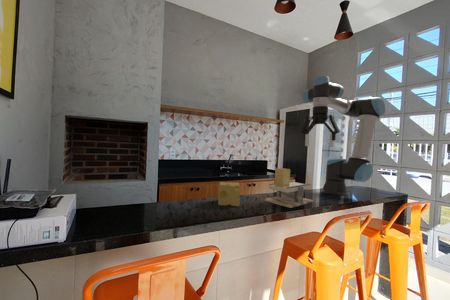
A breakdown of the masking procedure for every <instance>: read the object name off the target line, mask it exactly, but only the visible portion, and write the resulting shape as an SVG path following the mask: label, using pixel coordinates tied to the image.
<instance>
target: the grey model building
mask: <svg viewBox="0 0 450 300" xmlns="http://www.w3.org/2000/svg"><path fill="white" fill-rule="evenodd" d="M268 185H269V186H268V189H269V190H273V191H276V192H277V191H281V192H286V193H289V192H294V191H298V189H299V187H304V192H303V194H305V193H306V190H308V189H311V184H310V183H301V182H296V181H295V182H294V180H290V185H289V187H283V188H282V187H277V186H275V182H274V183H269V184H268Z"/></svg>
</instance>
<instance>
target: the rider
mask: <svg viewBox="0 0 450 300" xmlns="http://www.w3.org/2000/svg"><path fill="white" fill-rule="evenodd" d="M274 172H275V173H274V175H275V176H274V183H275V186H277V187H282V188H283V187H289V185H290V181H291V169H290V168H283V167H279V168H275V171H274Z"/></svg>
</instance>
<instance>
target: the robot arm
mask: <svg viewBox="0 0 450 300" xmlns="http://www.w3.org/2000/svg"><path fill="white" fill-rule="evenodd" d="M344 89H345V88H344V86H342V85H341V84H339V83H333V82H330V77H329V76H327V75H319V76H316V77H314V80H313V86H312V87H310V88H307V89H305V90H303V92H302V99H303V100H304V101H305V102H308V103H309V102H310V103H311V102H312V106H313V107H312V116H310V115H308V116H306V120H305V122H304V125H303V127H302V129H301V131H300V133H301V134H303V135H304V136H303V140H304V146H305V147H310V134H309V133H310V132H311V131H312V129H314V127H315V126H317V125H324V126H325V127H326V128H327V129H328V130H329V132H330V133H329V148H334V144H335V143H334V142H335V141H336V136H337V135H336V134H339V133H340V132H341V130H340V129H339V126H338V125H337V124H338V123H337V122H336V120H335V116H334V114H329V113H328V112H329V108H330V109H332V110H336V111H337V112H338V113H339V114H341V115H344V116H347V117H351V118H357V119H358V121H359V123H358V127H357V132H356V137H355V141H354V145H353V149H352V150H353V151H352V153H351V154H352V155H350V156H349V157H348V160H347V159H346V158H333V159H330V158H329V159H328V160H327V161H326V171H325V172H326V173H325V182H324V185H323V186H322V190H321V191H322V193H324V194H327V195H331V196H339V197H341V196H342V197H344V196H348V188H347V185H346V180H348V181H354V182H357V183H359V182H361V183H365V182H367V181H369V180H370V179H371V177H372V175H373V172H374V169H373V165H372V164H371V161H370V159H369V154H370V149H371V145H372V140H373V135H374V130H375V126H376V122H378V121H379V120H380V117H382V116H384V115H385V113H386V104H385V102H384V100H383V98H381V97H379V96H374V97H373V96H372V97H368V98H367V97H366V98H361V99H359V98H358V99H351V100H349V99H346V98H345V99H342V98H341V97H343V95H344V91H345V90H344ZM328 114H329V115H328ZM328 119H329V121H330V123H331V124H330V123H329V121H328Z"/></svg>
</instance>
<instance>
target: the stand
mask: <svg viewBox="0 0 450 300" xmlns="http://www.w3.org/2000/svg"><path fill="white" fill-rule="evenodd" d="M303 192H304V187H299V189H298V191H294V192H289V193H286V192H281V191H277V190H276V196H274V197H268V198H265V199H264V202H266V203H272V204H275V205H278V206H282V207H285V208H290V209H291V208H292V209H293V208H297V207H300V206H304V205H307V204H311V203H314V200H313V199H310V198H304V193H303Z"/></svg>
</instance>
